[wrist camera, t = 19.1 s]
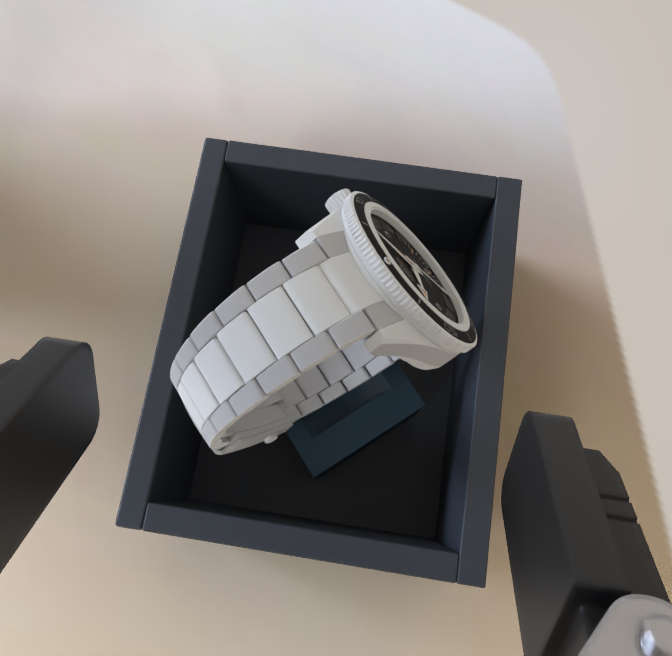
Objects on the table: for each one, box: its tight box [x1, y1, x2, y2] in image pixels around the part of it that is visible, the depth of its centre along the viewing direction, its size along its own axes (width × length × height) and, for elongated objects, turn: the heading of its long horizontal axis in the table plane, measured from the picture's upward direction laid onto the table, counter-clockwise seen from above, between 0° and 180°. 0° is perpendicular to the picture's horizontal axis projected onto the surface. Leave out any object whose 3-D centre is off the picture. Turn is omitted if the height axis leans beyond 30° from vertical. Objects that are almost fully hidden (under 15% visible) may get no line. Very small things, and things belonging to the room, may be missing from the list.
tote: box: [116, 138, 522, 588], centre depth 22 cm, size 11×13×6 cm
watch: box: [170, 189, 477, 479], centre depth 18 cm, size 6×8×11 cm
